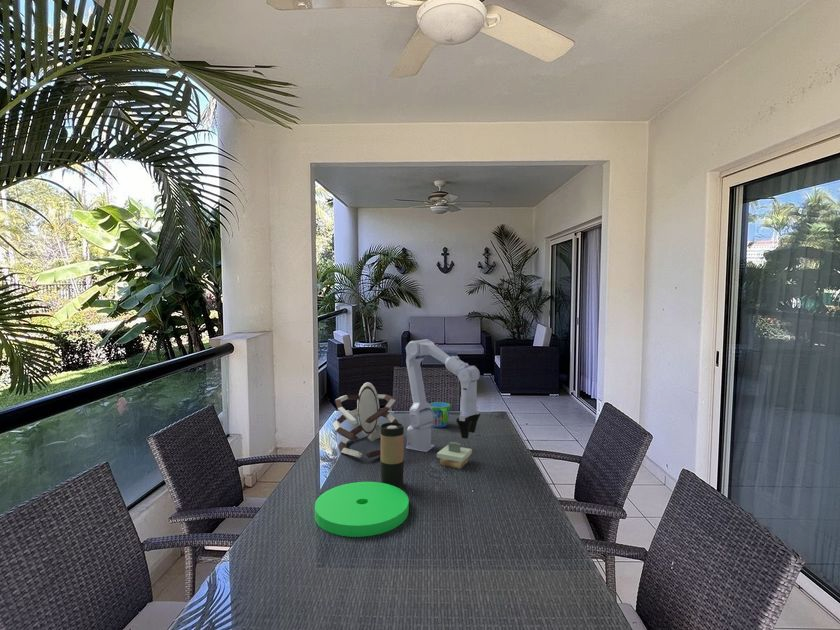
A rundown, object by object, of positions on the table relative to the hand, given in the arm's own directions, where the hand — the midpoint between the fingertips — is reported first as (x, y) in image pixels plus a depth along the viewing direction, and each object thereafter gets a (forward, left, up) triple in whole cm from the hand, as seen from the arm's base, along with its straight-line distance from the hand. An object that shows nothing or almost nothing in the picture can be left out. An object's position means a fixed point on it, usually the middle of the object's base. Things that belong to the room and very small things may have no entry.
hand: (468, 435), depth 169 cm
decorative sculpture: (-43, -4, -10) cm, 44 cm away
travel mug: (-15, -31, -10) cm, 36 cm away
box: (-4, -4, -10) cm, 12 cm away
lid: (-4, -4, -6) cm, 8 cm away
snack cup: (-28, +36, -10) cm, 47 cm away
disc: (-14, -50, -11) cm, 53 cm away
